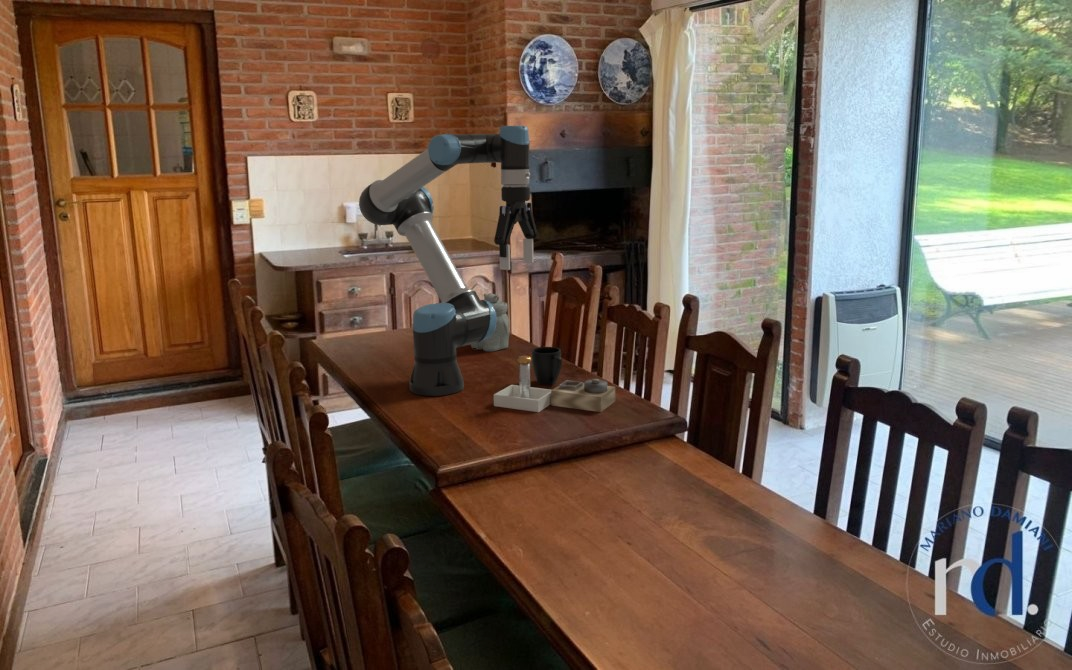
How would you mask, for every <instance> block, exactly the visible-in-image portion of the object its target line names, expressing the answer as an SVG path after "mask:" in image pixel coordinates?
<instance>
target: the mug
mask: <svg viewBox="0 0 1072 670" xmlns="http://www.w3.org/2000/svg"><path fill="white" fill-rule="evenodd" d="M562 362H563V360H562V350H561V348H559V347H555V346H539V347H536V348H533V349H532V350H531V364H532V368H533V372H534V375H535V378H536V379H535V380H536V383H537V384H539V385H543V386H550V385H554V384H556V383H557V382H558V378H559V376H560V372H561V370H562V369H561V368H562V365H563V364H562Z"/></svg>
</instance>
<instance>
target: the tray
mask: <svg viewBox="0 0 1072 670" xmlns="http://www.w3.org/2000/svg"><path fill="white" fill-rule="evenodd" d="M551 390H552V389H549V388H548V389H547V388H540V387H532V386H530V399H529V398H521V397H520V385H517V384H510V385H508V386H507V387H505V388H504V389H501V390H499V391H497V392H496V393H494V394H493V406H494V407H500V408H507V409H513V410H518V411H519V410H520V411H521V410H522V411H529V412H535V413H539V412H540V413H541V411H543V410H544V409H546V408H548V407H550V405H551Z"/></svg>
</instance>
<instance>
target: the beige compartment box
mask: <svg viewBox="0 0 1072 670" xmlns="http://www.w3.org/2000/svg"><path fill="white" fill-rule="evenodd" d="M550 390H551V404H550V405H551V406H553V407H560V408H568V409H576V410H584V411H591V412H598V413H602V412H603V411H604V410H605V409H607V408H609V407H610V406H611V405H613V404H614V403H615V402H616V386H612V385H608V381H606V380H603V379H599V378H592V379H588V380H586V381H584V382H583V381H578V380H577V381H576V380H568V379H566V380H564V381H563V382H561V383H560V384H558V386H556V387H555V388H553V389H550Z"/></svg>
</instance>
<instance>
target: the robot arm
mask: <svg viewBox="0 0 1072 670" xmlns="http://www.w3.org/2000/svg"><path fill="white" fill-rule="evenodd" d="M485 163H490V164H491V163H493V164H494V163H498V164H500V185H502V187H501V192H500V193H501V201H503V202H505V203H506V204H505V205H500V206H499V213H498V214H499V215H498V219H497V220H498V221H497V225H496V229H495V234H494V235H495V236H494V239H493V242H494V244H495V245H497V246H498V248H499V270H504V271H510V270H511V245H510V244H509V242H510V238H511V235H512V232H513V230H514V227H515V225H516V224H517V223H518V225H519V228H520V230H521V231H522V233H523V236H524V238H523V239H522V243H523V244H522V245H523V247H522V251H523V253H522V255H523V263H524V264H525V263H528V264H533V263H534V262H535V260H534V239H535V240H536V239H537V237H538V230H537V226H536V222H535V217H534V213H533V207H532V206H533V205H532V202H528V201H530V200H531V195H530V194H531V190H530V189H531V188H530V186H528V185H529V184H530V177H531V173H530V134H529V128H528V127H527V126H526V125H501V126H500V129H499V133H463V134H461V133H459V134H458V133H455V134H453V133H443V134H437V135H435V136H433V137H431V139H430V142H429V143H428V147H427V148H426V149H425V150H423V151H422V152H421V153H420V154H417V156H415V157H414V158H413V159H411V160H409V162H407V163H405V164H404V165H402V166H400V168H398V169H397V170H395V171H394V172H392V173H391V174H390V175H388V176H386V178H384V179H383V180H382V179H377V180H375V181H373V182H371V184H369V185H368V186H366V187H365V188H364V189H363V190H362V192H361V194H360V195H359V200H358V206H359V207H358V209H359V211H360V213H361V214H362V217H364V219H365V220H366V221H368V222H369V223H370V224H373V225H377V226H389V225H390V226H391V225H393V226H394V228H395V229H396V231H397V234H398V235H400V236H402V237H406V239H407V242H408V243H409V244H410V246H411V249H412V250H413V252H414V254H415V256H416V258H417V259H418V261H419V263H420V265H421V267H422V268H423V270H424V272H425V274H426V276H427V277H428V279H429V282H430V283H431V285H432V288H433V289H434V290H435V292H436V294H437V297H438V298H439V300H440V302H437V303H430V304H426V305H423V306H419V307H418V308H417V309H416V310H415V311H414V312H413V314H412V325H411V326H412V334H413V335H412V336H413V337H412V338H413V355H414V364H413V367H412V371H411V375H410V377H409V378H410V379H409V382H408V383H409V391H410V392H411V393H413V394H414V395H418V396H419V395H420V396H426V397H428V396H429V397H431V396H432V397H435V396H436V397H437V396H438V397H439V396H447V395H453V394H456V393H459V392H461V391H463V390H464V388H465V386H464V385H465V383H464V378H463V375H462V372H461V369H460V367H459V364H458V361H457V348H460V347H465V346H468V345H471V344H473V343H479V342H481V341H483V340H486V339H488V338H490V337H491V336H492V334H493V333H494V331H495V329H496V323H497V316H496V311H495V309H494V307H493V305H492V304H491V303H490V302H488V301H486V300H484V299H480V297H479V295H478V294H477V292H476V291H475V290H474V289H470V288H468V286H467V284H466V283H465V281H464V279H463V278H462V276H461V274H460V272H459V270H458V268H457V267H456V264H455V263H454V261H453V259H452V258H451V256H450V254H449V252H448V250H447V248H446V247H445V245H444V243H443V241H442V240H441V238H440V236H439V234H438V232H437V231H436V229H435V227H434V225H433V222H432V221H433V218H434V214H433V213H434V205H433V204H434V200H433V197H432V194H431V193H430V191H429V190H428V189H427V188H426V187H425V186H426V185H428V184H429V183H431V182H432V181H434V180H435V179H437V178H438V177H440V176H441V175H443V174H444V173H446V172H447V171H449V170H451V169H452V168H454V167H455V166H457V165H463V164H485Z"/></svg>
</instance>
